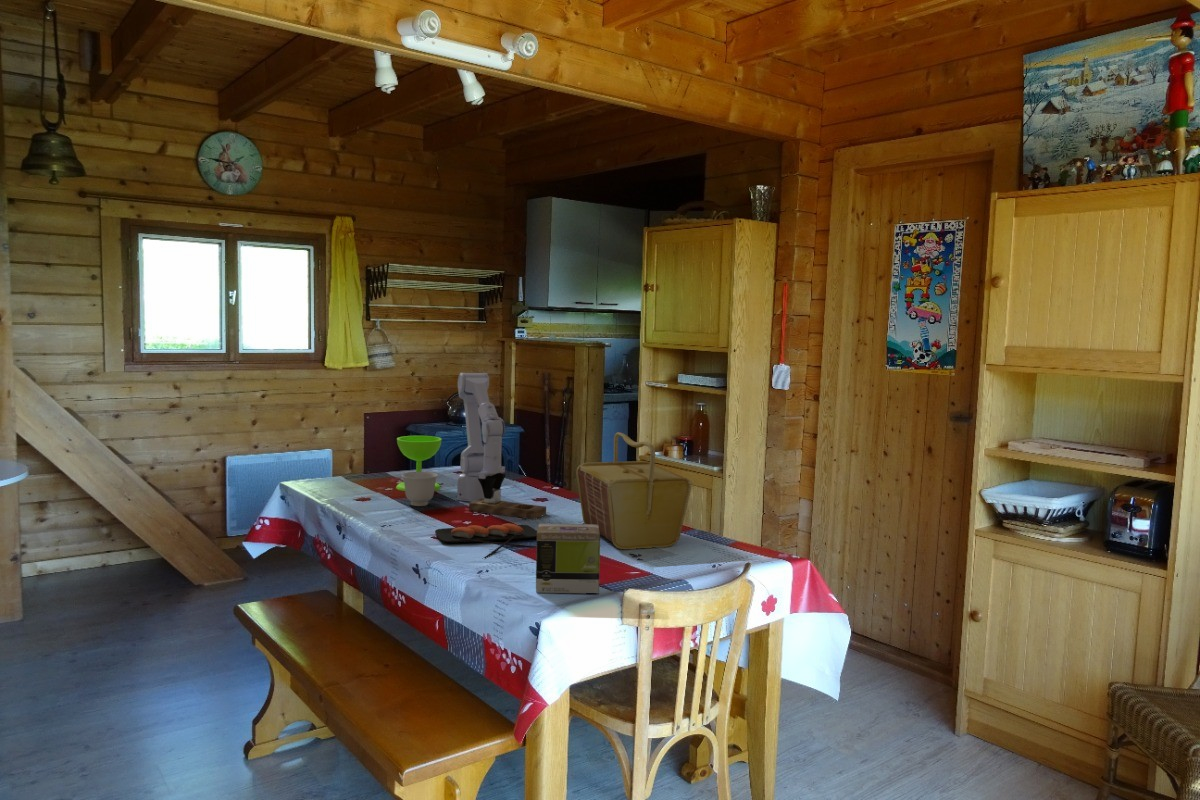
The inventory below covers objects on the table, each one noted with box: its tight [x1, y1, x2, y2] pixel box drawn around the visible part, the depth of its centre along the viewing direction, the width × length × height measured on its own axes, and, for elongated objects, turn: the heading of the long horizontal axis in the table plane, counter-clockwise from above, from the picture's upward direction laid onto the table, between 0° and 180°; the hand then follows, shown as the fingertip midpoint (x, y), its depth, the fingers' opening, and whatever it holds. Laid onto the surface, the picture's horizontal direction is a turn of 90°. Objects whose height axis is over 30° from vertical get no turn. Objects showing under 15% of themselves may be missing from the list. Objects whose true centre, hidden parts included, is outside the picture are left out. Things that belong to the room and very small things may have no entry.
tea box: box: [535, 523, 601, 594], centre depth 207 cm, size 15×10×15 cm
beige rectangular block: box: [484, 488, 502, 505], centre depth 284 cm, size 4×4×7 cm
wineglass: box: [395, 435, 443, 492], centre depth 316 cm, size 16×16×18 cm
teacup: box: [401, 471, 439, 507], centre depth 290 cm, size 12×15×10 cm
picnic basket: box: [575, 431, 692, 550], centre depth 255 cm, size 29×26×30 cm
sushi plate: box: [434, 522, 537, 559], centre depth 244 cm, size 29×30×4 cm
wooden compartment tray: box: [468, 499, 547, 520], centre depth 283 cm, size 24×8×3 cm, turn 69°
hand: (491, 497), depth 284 cm, fingers open, 5 cm apart
